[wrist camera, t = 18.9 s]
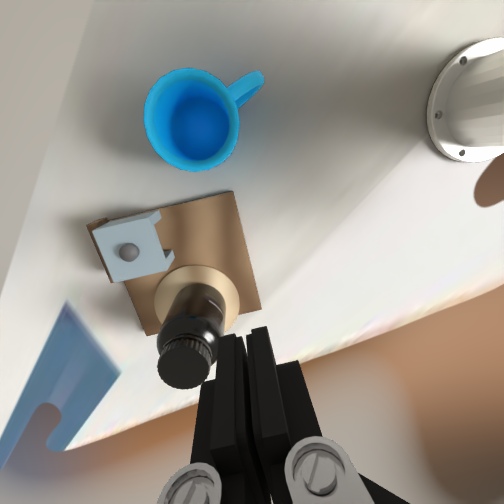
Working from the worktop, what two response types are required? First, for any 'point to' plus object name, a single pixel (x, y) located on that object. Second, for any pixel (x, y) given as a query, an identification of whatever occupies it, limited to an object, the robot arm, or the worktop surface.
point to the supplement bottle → (191, 336)
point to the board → (195, 259)
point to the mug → (196, 117)
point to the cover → (132, 247)
